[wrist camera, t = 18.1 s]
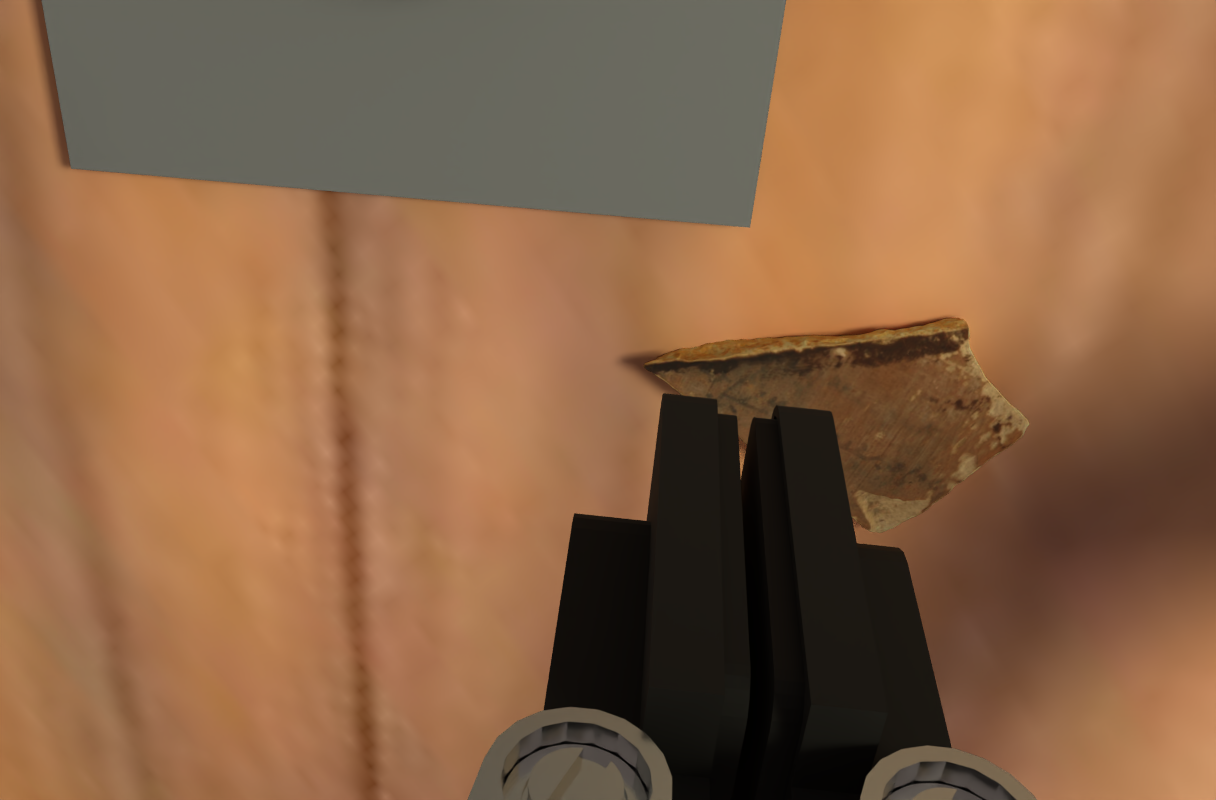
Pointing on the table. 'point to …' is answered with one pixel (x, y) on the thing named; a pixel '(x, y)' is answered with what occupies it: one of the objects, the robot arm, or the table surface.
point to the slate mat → (430, 98)
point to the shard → (866, 406)
